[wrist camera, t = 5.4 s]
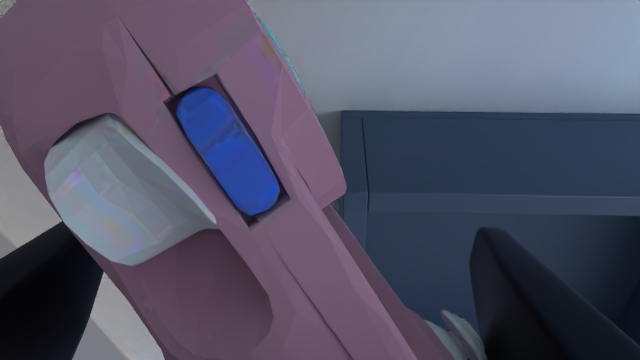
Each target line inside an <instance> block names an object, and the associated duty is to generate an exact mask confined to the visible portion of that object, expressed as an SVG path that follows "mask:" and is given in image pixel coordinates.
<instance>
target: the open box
mask: <svg viewBox="0 0 640 360" xmlns="http://www.w3.org/2000/svg"><path fill="white" fill-rule="evenodd" d="M340 166H341V168H342V172H343V175H344V179H345V182H346V186H347V189H346V192H345V194H344V195H342V196H341V197H339V216H340V217H341V218H342V220H343V221H344V223H345V224H346V225H347V227H348V228H349V230H350V231H351V232H352V234H353V235H354V237H355V238H356V239H357V241H358V242H359V244H360V245H361V246H362V248H363V249H364V251H365V252H366V254H367V255H368V256H369V258H370V259H371V261H372V262H373V263H374V265H375V266H376V268H377V269H378V270H379V272H380V273H381V275H382V276H383V277H384V279H385V280H386V281H387V283H388V284H389V285H390V287H391V288H392V290H393V291H394V292H395V294H396V295H397V296H398V298H399V299H400V300H401V302H402V303H403V305H404V306H405V307H407V308H409V309H410V310H412V311H413V312H415V313H417V314H418V315H419V316H420V317H421V318H422V319H423V320H426V321H430V322H432V323H433V324H435V325H437V326H439V327H440V328H442V329H444V330H446V331H447V332H448V331H450V330H449V329H448V327H447V326H446V324H445V323H444V321H443V319H442V317H441V315H440V312H441V311H442V310H446V311H449V312H450V313H452V314H456V315H457V316H458V317H459V318H463V319H464V320H466V321H467V322H468V323H469V324H470V325H471V326H472V328H473V329H474V330H475V332H476V333H477V334H478V336H479V337H480V335H479V329H478V322H477V316H476V309H475V303H474V296H473V290H472V283H471V276H470V269H469V261H470V255H471V251H472V248H473V244H474V240H475V236H476V233H477V230H478V229H479V228H480V227H500V228H502V229H504V230H505V231H506V232H507V233H509V234H510V235H511V236H512V237H513V238H514V239H516V240H517V241H518V242H519V243H520V244H521V245H523V246H524V247H525V248H526V249H527V250H528V251H530V252H531V253H532V254H533V255H534V256H535V257H537V258H538V259H539V260H540V261H541V262H542V263H544V264H545V265H546V266H547V267H548V268H549V269H551V270H552V271H553V272H554V273H555V274H556V275H558V276H559V277H560V278H561V279H562V280H563V281H565V282H566V283H567V284H568V285H569V286H570V287H572V288H573V289H574V290H575V291H576V292H577V293H579V294H580V295H581V296H582V297H583V298H584V299H586V300H587V301H588V302H589V303H590V304H591V305H593V306H594V307H595V308H596V309H597V310H598V311H600V312H601V313H602V314H603V315H604V316H606V317H607V318H608V319H609V320H610V321H611V322H613V323H614V324H615V325H616V326H617V327H618V328H620V329H621V330H622V331H623V332H624V333H625V334H627V335H628V336H629V337H630V338H631V339H632V340H634V341H635V342H636V343H637V344H638V345H639V346H640V114H568V113H481V112H394V111H342V112H341V143H340ZM467 360H470V358H469V357H468V358H467Z"/></svg>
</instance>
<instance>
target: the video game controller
mask: <svg viewBox="0 0 640 360" xmlns="http://www.w3.org/2000/svg"><path fill="white" fill-rule="evenodd" d="M0 124H1V126H2V129H3V132H4V134H5V137H6V140H7V142H8V143H9V145H10V147H11V149H12V151H13V152H14V154H15V156H16V158H17V159H18V161H19V163H20V165H21V166H22V168H23V170H24V171H25V172H26V173H27V175H28V176H29V177H30V179H31V180H32V181H33V183H34V184H35V185H36V187H37V188H38V189H39V191H40V192H41V193H42V194H43V196H44V197H45V198H46V200H47V201H48V202H49V204H50V205H51V206H52V208H53V209H54V210H55V211H56V213H57V214H58V215H59V217H60V218H61V219H62V221H63V222H64V223H65V225H66V226H67V227H68V228H69V230H70V231H71V232H72V233H73V234H74V236H75V237H76V238H77V239H78V240H79V242H80V243H81V244H82V245H83V247H84V248H85V249H86V250H87V251H88V253H89V254H90V255H91V256H92V257H93V259H94V260H95V261H96V262H97V263H98V265H99V266H100V267H101V268H102V270H103V271H104V272H105V273H106V274H107V276H108V277H109V278H110V279H111V280H112V282H113V283H114V284H115V285H116V286H117V288H118V289H119V290H120V291H121V293H122V294H123V295H124V296H125V297H126V299H127V300H128V301H129V302H130V304H131V305H132V307H133V308H134V310H135V311H136V313H137V314H138V316H139V317H140V319H141V320H142V322H143V323H144V324H145V326H146V327H147V329H148V330H149V332H150V333H151V335H152V336H153V338H154V339H155V341H156V342H157V344H158V345H159V347H160V348H161V350H162V352H163V355H164V358H165V360H467V358H468V357H469V358H470V360H487V356H486V354H485V352H484V350H485V346H484V344H483V342H482V340H481V339H480V337H479V336H478V334H477V333H476V332H475V330H474V329H473V328H472V326H471V325H470V324H469V323H468V322H467V321H466V320H464V319H463V318H459V317H458V316H457V315H456V314H452V313H450V312H449V311H446V310H442V311H441V312H440V315H441V317H442V319H443V321H444V323H445V324H446V326H447V327H448V329H449V330H450V331H448V332H447V331H446V330H444V329H442V328H440V327H439V326H437V325H435V324H433V323H432V322H430V321H426V320H423V319H422V318H421V317H420V316H419V315H418V314H417V313H415V312H413V311H412V310H410V309H409V308H407V307H405V306H404V305H403V303H402V302H401V300H400V299H399V298H398V296H397V295H396V294H395V292H394V291H393V290H392V288H391V287H390V285H389V284H388V283H387V281H386V280H385V279H384V277H383V276H382V275H381V273H380V272H379V270H378V269H377V268H376V266H375V265H374V263H373V262H372V261H371V259H370V258H369V256H368V255H367V254H366V252H365V251H364V249H363V248H362V246H361V245H360V244H359V242H358V241H357V239H356V238H355V237H354V235H353V234H352V232H351V231H350V230H349V228H348V227H347V225H346V224H345V223H344V221H343V220H342V218H341V217H340V216H339V214H338V213H337V212H336V211H335V209H334V208H333V207H332V206H331V205H330V203H332V202H333V201H335V200H336V199H338V198H339V197H341V196H342V195H344V194H345V192H346V189H347V186H346V182H345V179H344V175H343V172H342V168H341V166H340V164H339V162H338V160H337V157H336V155H335V153H334V151H333V149H332V147H331V144H330V142H329V140H328V138H327V136H326V134H325V132H324V130H323V128H322V126H321V124H320V122H319V120H318V118H317V116H316V114H315V112H314V110H313V108H312V106H311V104H310V102H309V101H308V99H307V97H306V95H305V92H304V89H303V87H302V85H301V83H300V80H299V78H298V76H297V74H296V71H295V69H294V68H293V66H292V65H291V63H290V61H289V60H288V58H287V57H286V55H285V53H284V52H283V50H282V49H281V47H280V45H279V44H278V42H277V41H276V39H275V37H274V36H273V34H272V33H271V31H270V30H269V29H268V28H267V27H266V25H265V24H264V23H263V22H262V21H261V20H260V19H259V18H258V17H257V15H256V14H255V13H253V12H252V10H251V9H250V7H249V6H248V4H247V3H246V1H245V0H17V1H16V2H15V4H14V5H13V6H12V7H11V8H10V9H9V10H8V11H7V12H6V13H5V14H4V16H3V17H2V18H1V19H0Z"/></svg>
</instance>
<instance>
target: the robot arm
mask: <svg viewBox="0 0 640 360" xmlns="http://www.w3.org/2000/svg"><path fill="white" fill-rule="evenodd" d="M469 269H470V276H471V283H472V290H473V296H474V303H475V309H476V316H477V322H478V329H479V335H480V339H481V340H482V342H483V344H484V346H485V350H484V352H485V354H486V356H487V360H640V346H639V345H638V344H637V343H636V342H635V341H634V340H632V339H631V338H630V337H629V336H628V335H627V334H625V333H624V332H623V331H622V330H621V329H620V328H618V327H617V326H616V325H615V324H614V323H613V322H611V321H610V320H609V319H608V318H607V317H606V316H604V315H603V314H602V313H601V312H600V311H598V310H597V309H596V308H595V307H594V306H593V305H591V304H590V303H589V302H588V301H587V300H586V299H584V298H583V297H582V296H581V295H580V294H579V293H577V292H576V291H575V290H574V289H573V288H572V287H570V286H569V285H568V284H567V283H566V282H565V281H563V280H562V279H561V278H560V277H559V276H558V275H556V274H555V273H554V272H553V271H552V270H551V269H549V268H548V267H547V266H546V265H545V264H544V263H542V262H541V261H540V260H539V259H538V258H537V257H535V256H534V255H533V254H532V253H531V252H530V251H528V250H527V249H526V248H525V247H524V246H523V245H521V244H520V243H519V242H518V241H517V240H516V239H514V238H513V237H512V236H511V235H510V234H509V233H507V232H506V231H505V230H504V229H502V228H500V227H480V228H479V229H478V230H477V233H476V236H475V240H474V244H473V248H472V251H471V255H470V261H469ZM103 272H104V271H103V270H102V268H101V267H100V266H99V265H98V263H97V262H96V261H95V260H94V259H93V257H92V256H91V255H90V254H89V253H88V251H87V250H86V249H85V248H84V247H83V245H82V244H81V243H80V242H79V240H78V239H77V238H76V237H75V236H74V234H73V233H72V232H71V231H70V230H69V228H68V227H67V226H66V225H65V223H64V222H63V221H62V222H60V223H59V224H57V225H55V226H54V227H52V228H50V229H49V230H47V231H46V232H44V233H42V234H41V235H39V236H37V237H36V238H34V239H32V240H31V241H29V242H27V243H26V244H24V245H22V246H21V247H19V248H17V249H16V250H14V251H13V252H11V253H9V254H8V255H6V256H4V257H3V258H1V259H0V360H72V358H73V356H74V354H75V351H76V349H77V347H78V345H79V342H80V340H81V338H82V335H83V333H84V330H85V328H86V326H87V323H88V320H89V317H90V314H91V311H92V307H93V304H94V301H95V298H96V295H97V291H98V288H99V285H100V282H101V279H102V275H103Z"/></svg>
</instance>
